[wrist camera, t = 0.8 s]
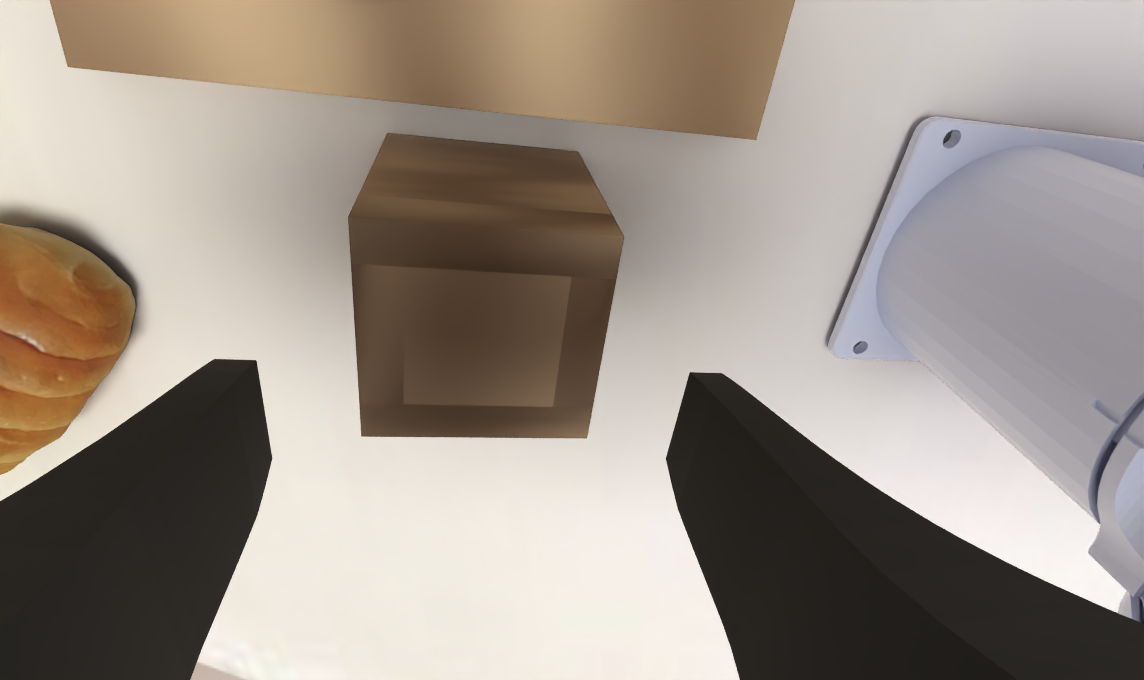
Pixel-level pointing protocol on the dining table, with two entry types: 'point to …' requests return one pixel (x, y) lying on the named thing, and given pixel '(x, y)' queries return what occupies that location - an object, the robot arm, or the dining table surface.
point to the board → (460, 53)
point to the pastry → (53, 335)
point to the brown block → (480, 290)
